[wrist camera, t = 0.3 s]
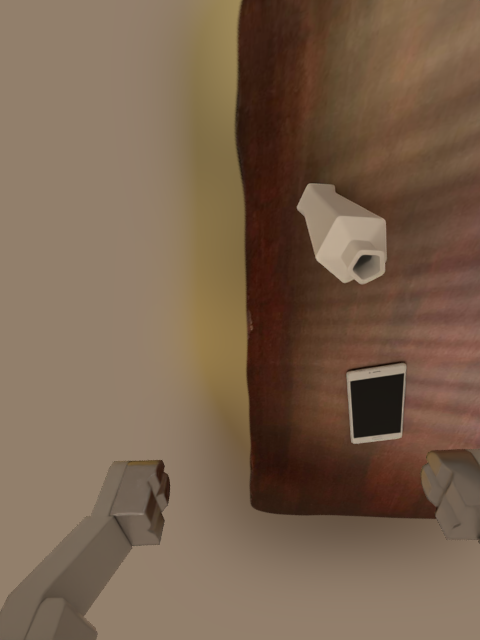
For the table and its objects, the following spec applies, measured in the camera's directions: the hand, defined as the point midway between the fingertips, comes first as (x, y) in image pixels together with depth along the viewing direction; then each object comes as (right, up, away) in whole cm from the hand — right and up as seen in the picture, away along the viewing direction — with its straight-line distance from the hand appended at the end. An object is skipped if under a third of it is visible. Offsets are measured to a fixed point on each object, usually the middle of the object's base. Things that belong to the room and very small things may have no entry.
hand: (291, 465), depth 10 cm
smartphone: (+17, -7, +35) cm, 40 cm away
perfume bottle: (+6, +16, +21) cm, 27 cm away
